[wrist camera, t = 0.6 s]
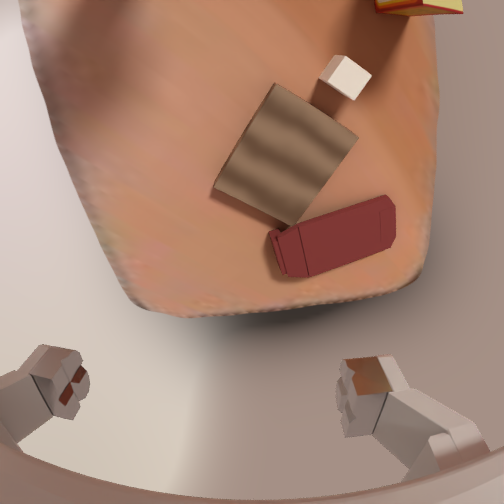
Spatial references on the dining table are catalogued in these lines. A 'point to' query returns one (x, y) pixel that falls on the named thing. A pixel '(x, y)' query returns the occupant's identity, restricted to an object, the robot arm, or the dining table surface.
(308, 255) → the carton
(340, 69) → the cream block
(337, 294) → the dining table surface
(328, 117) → the plinth
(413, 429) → the robot arm
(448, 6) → the baking soda box
